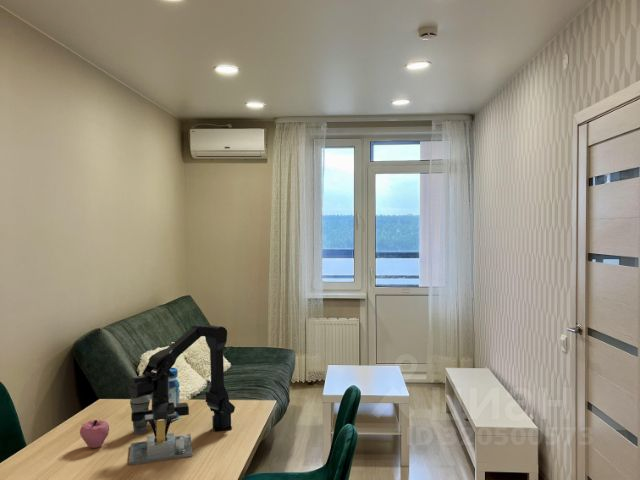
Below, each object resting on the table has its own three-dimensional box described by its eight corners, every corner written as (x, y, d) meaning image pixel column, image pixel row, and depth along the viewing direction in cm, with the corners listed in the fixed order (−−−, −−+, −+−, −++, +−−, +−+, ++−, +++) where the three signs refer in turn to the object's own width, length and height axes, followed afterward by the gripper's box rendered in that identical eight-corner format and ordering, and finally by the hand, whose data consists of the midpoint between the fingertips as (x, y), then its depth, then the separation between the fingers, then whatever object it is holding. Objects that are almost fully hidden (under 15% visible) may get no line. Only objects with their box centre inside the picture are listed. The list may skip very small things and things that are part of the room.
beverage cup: (143, 436, 186) (143, 382, 186) (126, 434, 187) (125, 381, 187) (154, 428, 193) (153, 377, 193) (137, 427, 194) (136, 376, 194)
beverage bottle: (184, 417, 205) (184, 368, 205) (168, 423, 198) (167, 373, 198) (170, 413, 210) (170, 365, 210) (154, 419, 203) (153, 370, 203)
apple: (114, 443, 179) (114, 415, 179) (96, 453, 171) (96, 424, 171) (93, 440, 182) (93, 412, 182) (74, 449, 174) (74, 421, 174)
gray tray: (189, 438, 183) (188, 421, 183) (192, 456, 168) (192, 438, 168) (130, 446, 177) (130, 429, 177) (129, 465, 162) (128, 446, 161)
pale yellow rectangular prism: (164, 441, 174) (164, 418, 174) (164, 444, 172) (164, 421, 172) (156, 442, 173) (156, 419, 173) (157, 445, 171) (156, 421, 171)
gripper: (130, 401, 162) (131, 449, 162) (189, 395, 168) (190, 441, 168) (131, 391, 172) (132, 436, 172) (187, 386, 178) (188, 429, 178)
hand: (160, 436), depth 172 cm, fingers open, 3 cm apart
